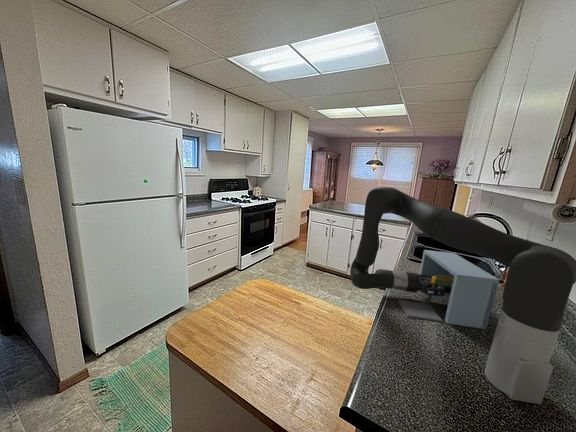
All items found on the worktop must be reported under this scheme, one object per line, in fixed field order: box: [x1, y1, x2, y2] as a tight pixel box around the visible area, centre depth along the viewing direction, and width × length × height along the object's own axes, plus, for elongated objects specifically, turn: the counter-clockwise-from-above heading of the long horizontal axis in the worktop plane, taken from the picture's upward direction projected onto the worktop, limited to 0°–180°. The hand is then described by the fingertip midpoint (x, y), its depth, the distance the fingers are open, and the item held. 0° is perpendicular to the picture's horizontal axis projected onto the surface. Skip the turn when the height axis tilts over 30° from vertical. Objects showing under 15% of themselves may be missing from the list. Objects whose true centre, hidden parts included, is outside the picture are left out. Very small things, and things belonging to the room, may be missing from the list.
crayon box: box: [427, 274, 454, 306], centre depth 91 cm, size 7×3×12 cm, turn 80°
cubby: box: [418, 249, 500, 330], centre depth 88 cm, size 25×12×17 cm, turn 172°
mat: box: [397, 299, 443, 323], centre depth 84 cm, size 10×11×1 cm
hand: (449, 287), depth 90 cm, fingers open, 5 cm apart
